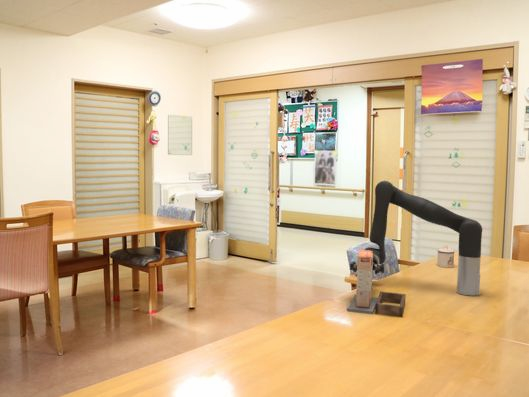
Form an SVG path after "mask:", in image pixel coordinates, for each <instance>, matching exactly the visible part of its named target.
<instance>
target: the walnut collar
mask: <svg viewBox="0 0 529 397" xmlns="http://www.w3.org/2000/svg"><path fill="white" fill-rule="evenodd" d="M377 297H378V298H377V301H376V303H375V309H374V314H375V315H381V316H390V317H398V318H399V317H400V318H403V315H404V311H405V306H406V293H397V292H390V291H379V294H378V296H377ZM390 302H391V303H393V304H391V303H390ZM387 303H390V304H387ZM398 304H399V305H398Z"/></svg>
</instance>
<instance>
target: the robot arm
mask: <svg viewBox="0 0 529 397" xmlns="http://www.w3.org/2000/svg"><path fill="white" fill-rule="evenodd" d="M374 195H375V196H374V197H375V198H374V200H375V201H374V210H373V211H374V213H373V217H372V222H371V223H372V224H371V229H370V234H369V241H370V243H372V244H375V245H377V246H378V248H375V247H369V246H368V247H366V248H365V249H364V250H370V251H373V266H372V274H373V273H374V275H377V274H379V273H381V274H383V273H385V264H384V263H385V262H386V258H387V256H386V255H387V254H386V250H385V249H386V248H385V239H386V235H387V234H386V233H387V227H388V214H389V213H388V210H389V206H390V204H392V205H395V206H397V207H400V208H401V209H403V210H405V211H407V212H409V213H410V214H411V215H413V216H415V217H418V218H419V219H422V220H424V221H425V222H428V223H431V224H435V225H438V226H442V227H445V228H448V229H451V230H452V231H454V232H456V233H458V258H457V261H458V262H457V276H456V277H457V280H456V293H458V294H460V295H463V296H473V297H474V296H480V288H481V286H480V285H481V259H482V258H481V256H482V240H483V239H482V236H483V234H482V233H483V227H482V224H481V223H480V222H479V221H477V220H475V219H472V218H469V217H466V216H462V215H460V214H457V213H455V212H453V211H451V210H449V209H447V208H445V207H443V206H442V205H440V204H437V203H436V202H434V201H431V200H429V199H427V198H424V197H421V196H418V195H414V194H410V193H408V192H405V191H403V190H401V189H400V188H398V187H396V186H395V185H394V184H393V183H392V182H390V181H388V180H381V181H379V182H378V183H377V184H376V185H375V188H374ZM357 268H358V263H357V262H356V261H351V262H350V263H349V270H350V271H352V272H354V273H357Z"/></svg>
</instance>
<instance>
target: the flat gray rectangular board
mask: <svg viewBox="0 0 529 397" xmlns="http://www.w3.org/2000/svg"><path fill="white" fill-rule="evenodd" d="M377 298H378V296H377V297H376V296H371V300H370V308H366V307H356V294H354V296H353V298H352V299H351V301H350V302H349V305H348V306H347V308H346V312H352V313H353V312H354V313H361V314H368V315H373V314H374V313H375V303H376V301H377Z"/></svg>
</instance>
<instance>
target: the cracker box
mask: <svg viewBox="0 0 529 397" xmlns="http://www.w3.org/2000/svg"><path fill="white" fill-rule="evenodd" d="M357 264H358V266H357V267H358V268H357V271H356V294H355V295H356V307H366V308H370V300H371V297H372V285H373V284H372V282H373V273H372V266H373V251H370V250H365V249H359V250H358V255H357Z"/></svg>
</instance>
